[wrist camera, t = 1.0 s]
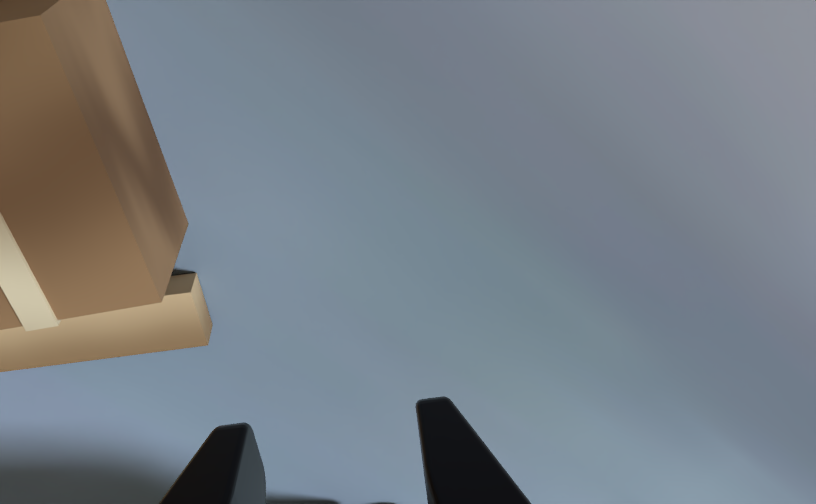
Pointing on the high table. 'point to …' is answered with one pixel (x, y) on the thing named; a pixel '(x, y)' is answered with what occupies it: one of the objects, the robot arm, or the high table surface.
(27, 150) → the crate
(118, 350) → the light brown long piece
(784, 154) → the high table surface
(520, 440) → the high table surface
